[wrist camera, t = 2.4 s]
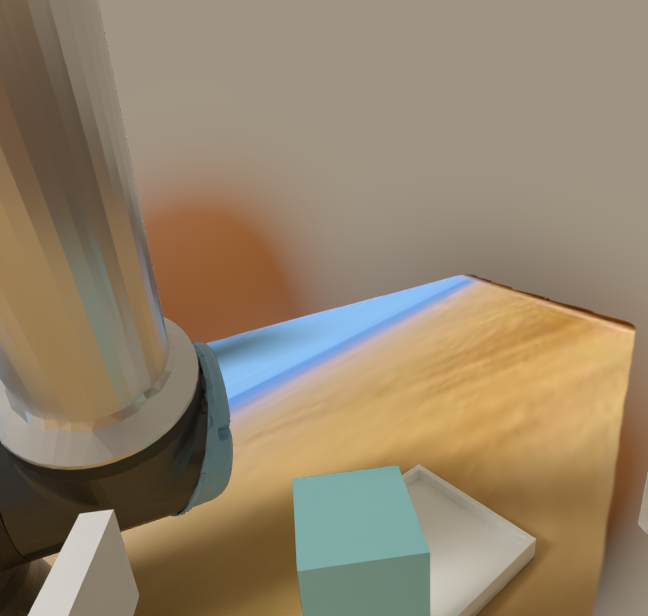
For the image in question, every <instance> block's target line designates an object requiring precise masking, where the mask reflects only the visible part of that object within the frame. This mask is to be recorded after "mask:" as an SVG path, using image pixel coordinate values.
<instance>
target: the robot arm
mask: <svg viewBox="0 0 648 616" xmlns="http://www.w3.org/2000/svg"><path fill="white" fill-rule="evenodd" d="M229 425H230V412H229V405H228V399H227V394H226V389H225V385H224V381H223V377H222V373H221V370H220V367H219V365H218V361H217V359H216V357H215V354H214V353H213V351H212V349H211V348H210V347H209V346H208V345H207V344H204V343H202V342H191V341H190V339H189V338H188V336H187V335H186V333H185V332H184V331H183V330H182V329H181V328H180V327H179V326H177V325H176V324H175V323H173V322H172V321H170V320H169V319H167V318H165V317H163V313H162V308H161V303H160V299H159V294H158V289H157V284H156V279H155V274H154V269H153V265H152V260H151V255H150V250H149V246H148V240H147V235H146V231H145V226H144V222H143V216H142V211H141V207H140V202H139V197H138V192H137V187H136V182H135V177H134V172H133V168H132V164H131V158H130V153H129V148H128V143H127V138H126V134H125V129H124V124H123V119H122V115H121V109H120V105H119V100H118V95H117V90H116V85H115V80H114V76H113V71H112V66H111V61H110V56H109V52H108V46H107V42H106V37H105V32H104V28H103V22H102V18H101V13H100V8H99V3H98V0H0V616H134V612H135V609H136V606H137V602H138V599H139V593H138V589H137V586H136V583H135V579H134V576H133V573H132V569H131V566H130V562H129V559H128V556H127V552H126V549H125V546H124V542H123V539H122V536H121V532H122V531H125V530H128V529H131V528H134V527H137V526H140V525H143V524H146V523H149V522H152V521H155V520H158V519H161V518H164V517H167V516H179V515H183V514H185V512H188V511H189V510H190V509H192V508H193V507H195V506H198V505H200V504H203V503H205V502H208V501H211V500H213V499H215V498H216V497H218V496H219V495H220V494H221V493H222V492H223V491H224V490H225V488H226V486H227V485H228V482H229V480H230V476H231V471H232V461H233V443H232V435H231V432H230V429H229ZM638 525H639V526H640V527H641V528H642V529H643V530H644V531H645V532H646V534H647V535H648V472H647V478H646V483H645V488H644V493H643V499H642V504H641V509H640V514H639V520H638ZM58 552H60V553H59V555H58V557H57V559H56V561H55V563H54V565H53V567H52V566H50V565H49V564H48V563H47V562H46V561H45V560H43V559H42V558H43V557H46V556H49V555H52V554H55V553H58Z"/></svg>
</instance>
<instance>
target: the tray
mask: <svg viewBox="0 0 648 616" xmlns="http://www.w3.org/2000/svg"><path fill="white" fill-rule="evenodd" d="M402 477H403V480H404V482H405V485H406V488H407V491H408V493H409V496H410V499H411V502H412V504H413V507H414V510H415V512H416V515H417V518H418V521H419V523H420V526H421V529H422V531H423V534H424V537H425V540H426V542H427V545H428V548H429V551H430V616H476V615H477V614H478V613H479V612H480V611H481V610H482V609H483V608H484V607H485V606H486V605H487V604H488V603H489V602H490V601H491V600H492V599H493V598H494V597H495V596H496V595H497V594H498V593H499V592H500V591H501V590H502V589H503V588H504V587H505V586H506V585H507V584H508V583H509V582H510V581H511V580H512V579H513V578H514V577H515V576H516V575H517V574H518V573H519V572H520V571H521V570H522V569H523V568H524V567H525V566H526V565H527V564H528V563H529V562H530V561H531V560H532V559H533V558H534V557H535V548H536V538H534V537H533V536H531V535H530V534H528V533H526V532H525V531H523V530H522V529H520V528H519V527H517V526H515V525H514V524H512V523H511V522H509V521H508V520H506V519H504V518H503V517H501V516H500V515H498V514H497V513H495V512H494V511H492V510H490V509H489V508H487V507H486V506H484V505H483V504H481V503H479V502H478V501H476V500H475V499H473V498H472V497H470V496H468V495H467V494H465V493H464V492H462V491H461V490H459V489H458V488H456V487H454V486H453V485H451V484H450V483H448V482H447V481H445V480H443V479H442V478H440V477H439V476H437V475H436V474H434V473H432V472H431V471H429V470H428V469H426V468H425V467H423V466H421V465H420V464H418V465H416V466H415V467H413V468H412V469H410V470H409V471H407V472H406V473H404V474H403V475H402Z"/></svg>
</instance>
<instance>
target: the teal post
mask: <svg viewBox="0 0 648 616" xmlns="http://www.w3.org/2000/svg"><path fill="white" fill-rule="evenodd" d="M292 482H293V501H294V521H295V541H296V561H297V575H298V582H299V590H300V597H301V604H302V612H303V616H430V551H429V548H428V545H427V542H426V540H425V537H424V534H423V531H422V529H421V526H420V523H419V521H418V518H417V515H416V512H415V510H414V507H413V504H412V502H411V499H410V496H409V493H408V491H407V488H406V485H405V482H404V480H403V477H402V474H401V472H400V469H399V466H398V465H395V466H388V467H380V468H372V469H365V470H357V471H350V472H342V473H334V474H327V475H319V476H311V477H304V478H296V479H292Z"/></svg>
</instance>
